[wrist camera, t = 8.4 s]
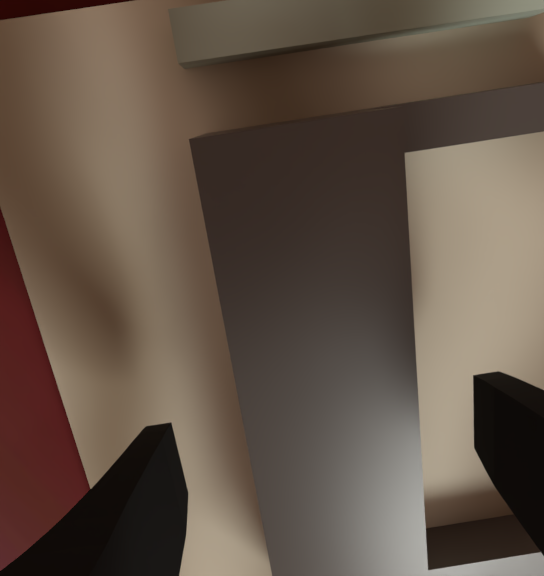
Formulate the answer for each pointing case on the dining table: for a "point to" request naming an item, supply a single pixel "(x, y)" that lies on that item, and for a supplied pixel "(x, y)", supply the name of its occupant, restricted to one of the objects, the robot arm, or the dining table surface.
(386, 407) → the grey boxy piece
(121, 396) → the display stand
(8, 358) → the dining table surface
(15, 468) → the dining table surface
